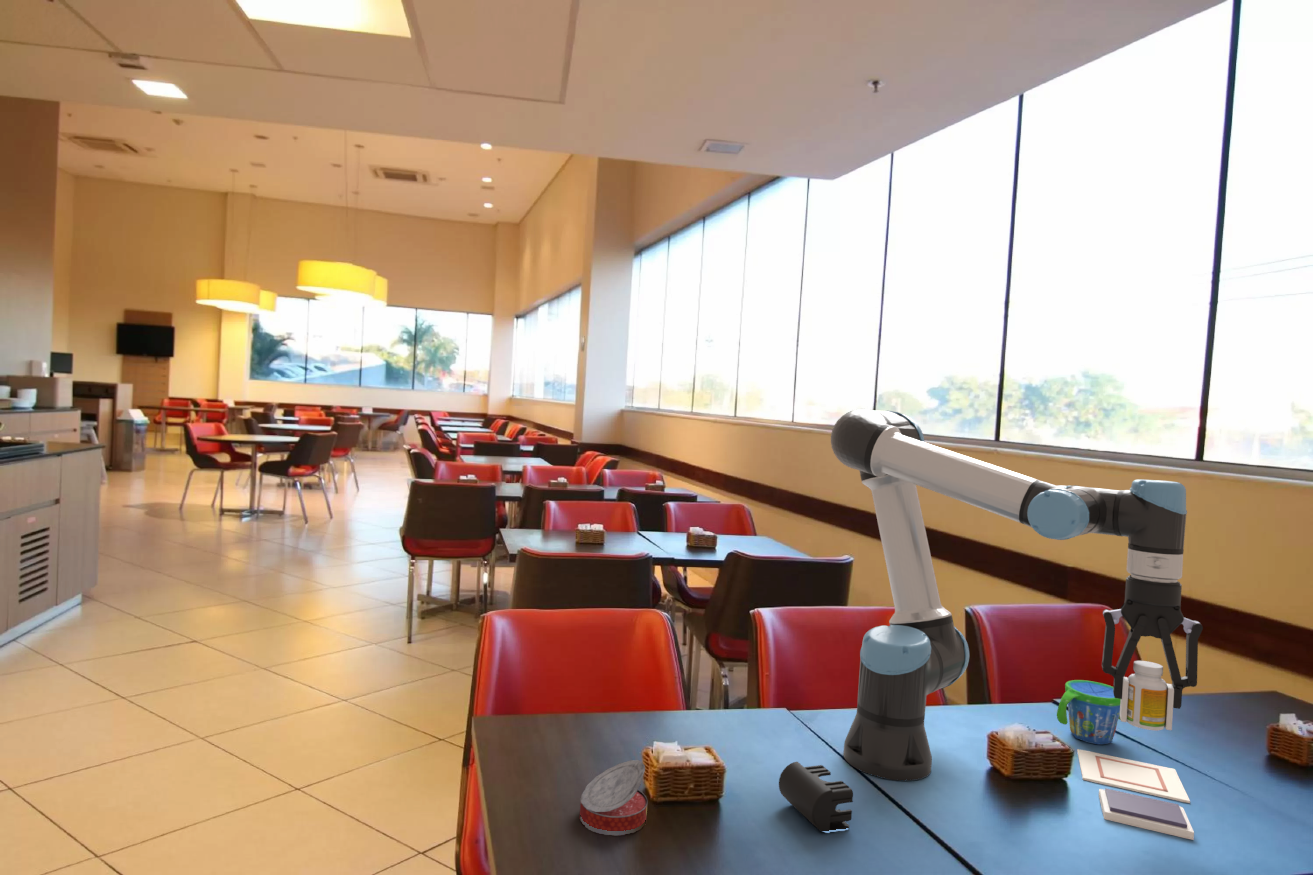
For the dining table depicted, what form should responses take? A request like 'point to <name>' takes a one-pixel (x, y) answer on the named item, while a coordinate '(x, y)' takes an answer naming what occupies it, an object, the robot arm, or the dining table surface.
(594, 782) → the canned food
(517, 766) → the dining table surface
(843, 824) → the end cap
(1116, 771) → the cream flat board
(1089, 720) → the snack cup
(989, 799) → the dining table surface
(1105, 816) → the ink pad
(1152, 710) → the supplement bottle
